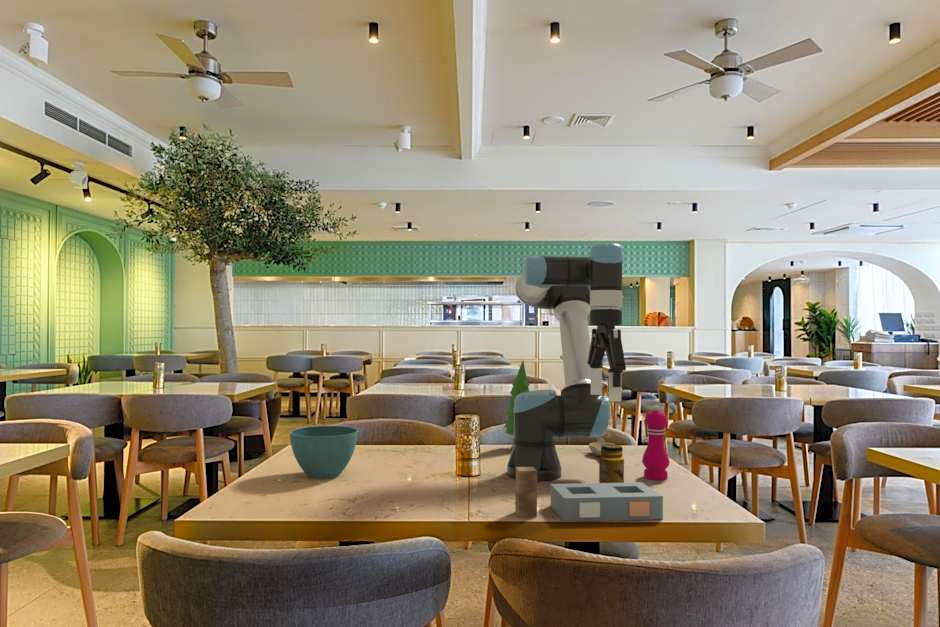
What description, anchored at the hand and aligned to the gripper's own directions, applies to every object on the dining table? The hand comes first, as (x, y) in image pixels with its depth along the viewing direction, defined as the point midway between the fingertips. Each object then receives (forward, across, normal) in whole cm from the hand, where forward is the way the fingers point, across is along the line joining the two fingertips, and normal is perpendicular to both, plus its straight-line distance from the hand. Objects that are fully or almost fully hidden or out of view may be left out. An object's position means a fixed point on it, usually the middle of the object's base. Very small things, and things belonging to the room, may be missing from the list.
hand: (605, 398), depth 150 cm
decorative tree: (+25, +64, +8) cm, 69 cm away
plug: (+25, -8, +21) cm, 33 cm away
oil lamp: (+25, +52, -17) cm, 60 cm away
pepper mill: (+25, +22, -22) cm, 40 cm away
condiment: (+25, +7, -3) cm, 26 cm away
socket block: (+25, -8, +3) cm, 26 cm away
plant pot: (+25, +31, +69) cm, 80 cm away
